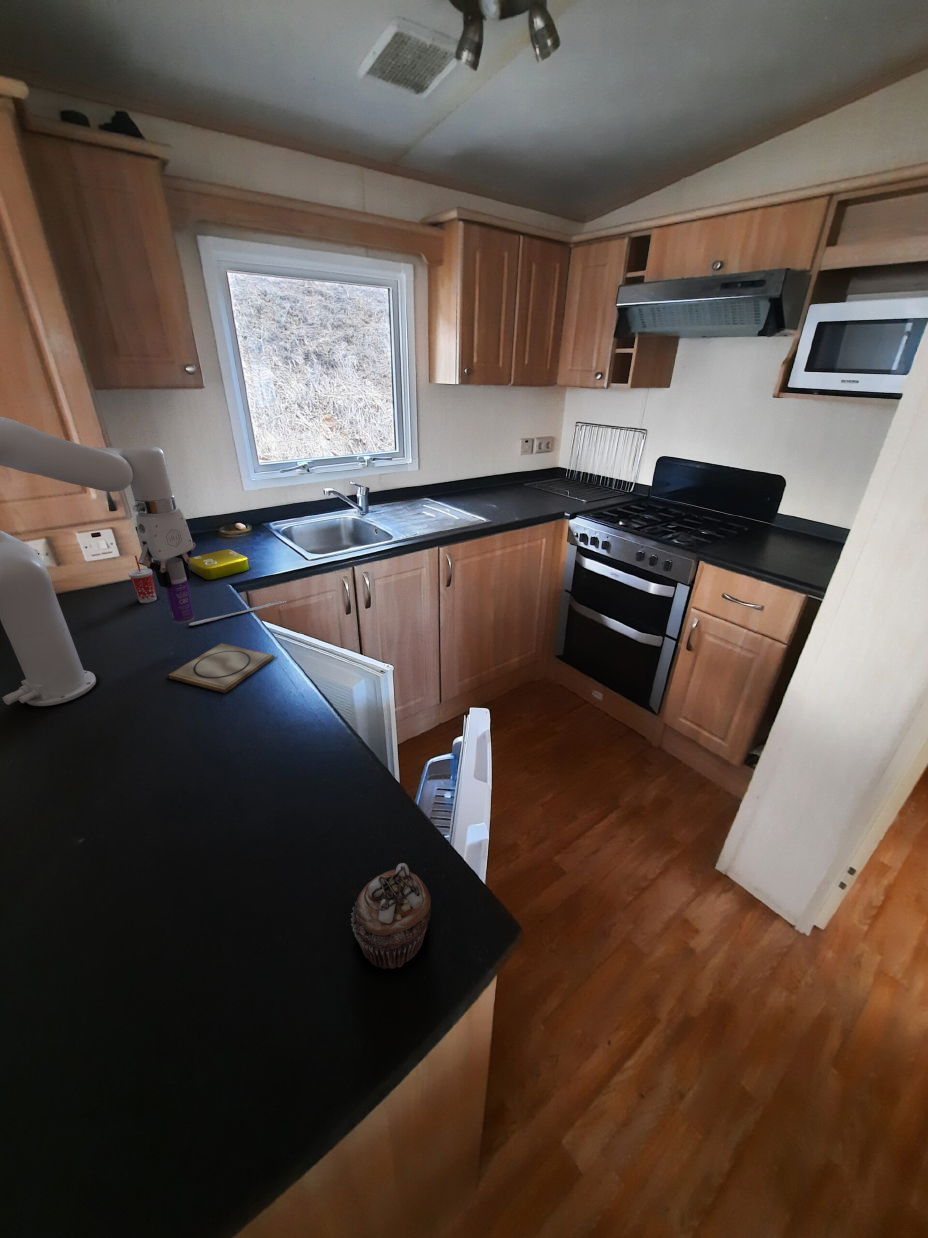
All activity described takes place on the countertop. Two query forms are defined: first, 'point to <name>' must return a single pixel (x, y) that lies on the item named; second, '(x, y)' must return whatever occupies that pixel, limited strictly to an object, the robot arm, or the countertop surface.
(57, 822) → the countertop surface
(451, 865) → the countertop surface
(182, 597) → the container
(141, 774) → the countertop surface
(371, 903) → the cupcake
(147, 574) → the beverage cup
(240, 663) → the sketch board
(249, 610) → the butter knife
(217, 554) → the yellow flat square block
